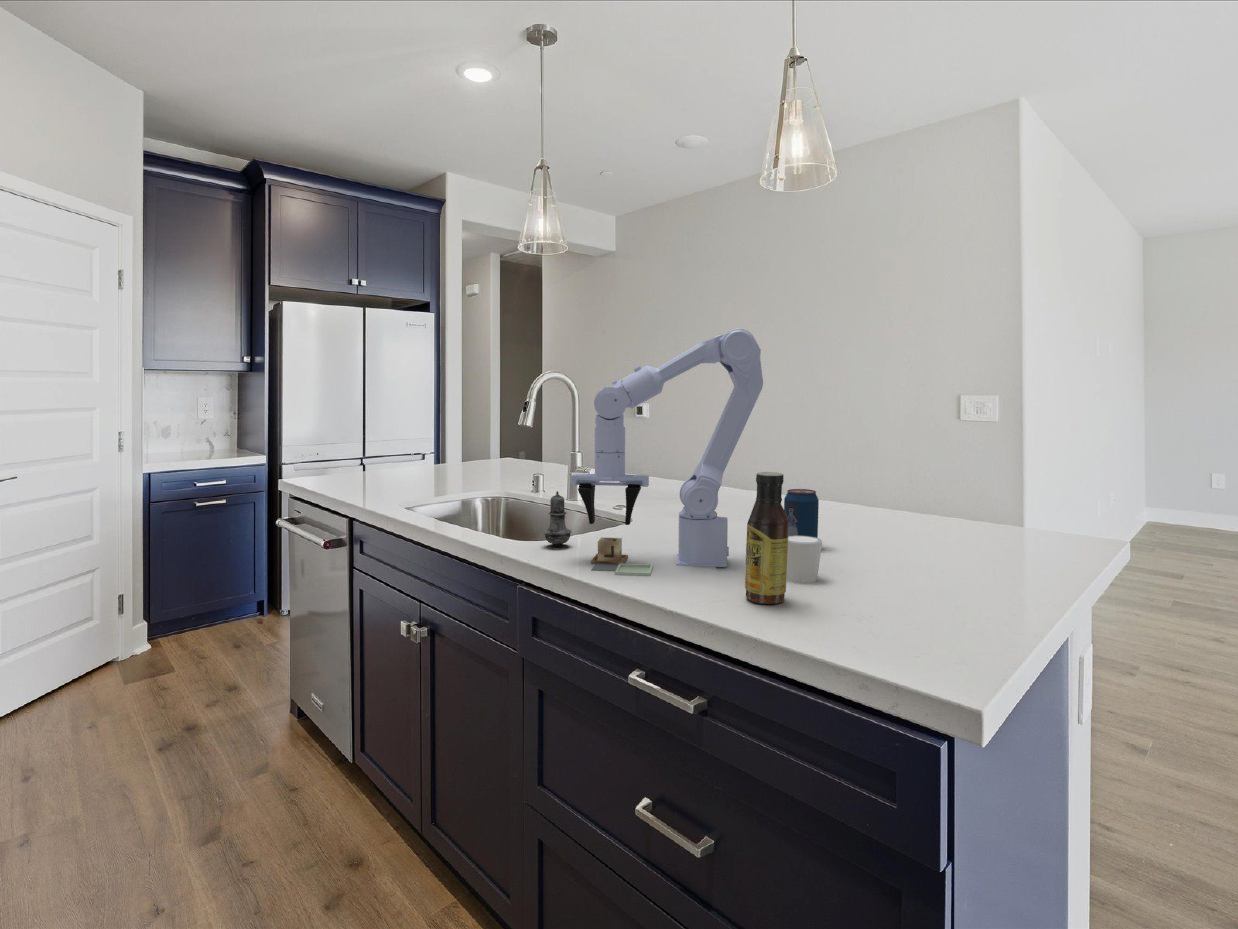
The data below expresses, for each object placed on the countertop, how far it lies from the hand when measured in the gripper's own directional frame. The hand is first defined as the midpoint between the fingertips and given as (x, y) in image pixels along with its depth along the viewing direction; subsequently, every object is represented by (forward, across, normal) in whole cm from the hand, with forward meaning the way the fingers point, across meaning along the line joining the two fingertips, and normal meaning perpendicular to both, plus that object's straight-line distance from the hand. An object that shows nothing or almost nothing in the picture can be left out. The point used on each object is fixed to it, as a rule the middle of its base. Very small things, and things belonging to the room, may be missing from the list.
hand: (609, 523), depth 129 cm
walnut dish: (+7, 0, 0) cm, 7 cm away
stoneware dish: (+7, +6, -7) cm, 12 cm away
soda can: (+8, +38, +18) cm, 42 cm away
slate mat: (+7, 0, -6) cm, 9 cm away
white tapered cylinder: (+8, +34, -7) cm, 36 cm away
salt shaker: (+8, -12, +10) cm, 18 cm away
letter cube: (+7, 0, 0) cm, 7 cm away
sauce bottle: (+8, +28, -21) cm, 35 cm away
